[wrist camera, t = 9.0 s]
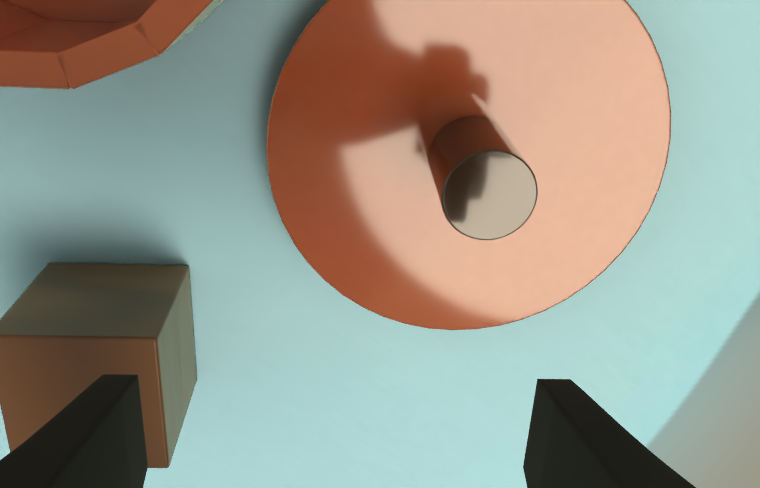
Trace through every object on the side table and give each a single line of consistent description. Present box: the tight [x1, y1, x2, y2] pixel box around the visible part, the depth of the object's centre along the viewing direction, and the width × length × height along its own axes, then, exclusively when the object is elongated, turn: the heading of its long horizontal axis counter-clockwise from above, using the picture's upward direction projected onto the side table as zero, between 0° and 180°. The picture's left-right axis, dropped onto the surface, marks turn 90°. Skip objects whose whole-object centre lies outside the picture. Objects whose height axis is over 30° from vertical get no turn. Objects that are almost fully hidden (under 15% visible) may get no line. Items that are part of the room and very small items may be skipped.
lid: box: [266, 0, 671, 330], centre depth 20 cm, size 12×12×4 cm
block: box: [0, 263, 197, 468], centre depth 22 cm, size 4×4×4 cm
